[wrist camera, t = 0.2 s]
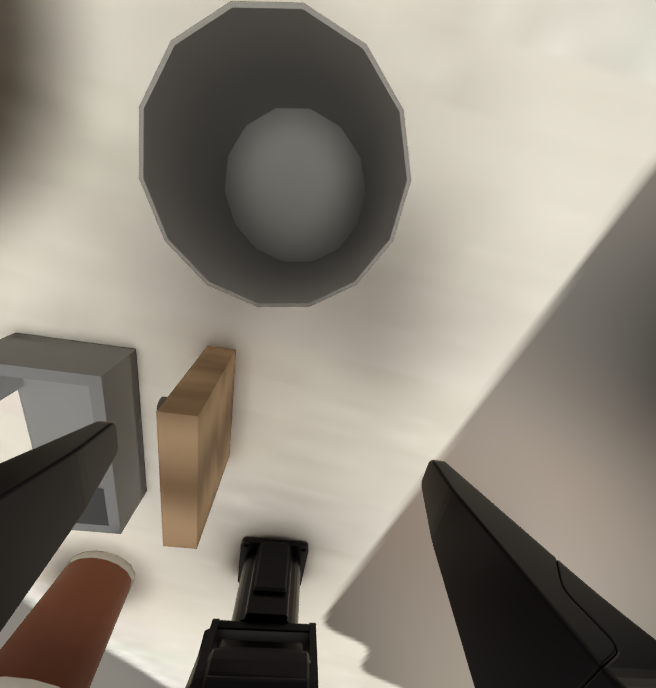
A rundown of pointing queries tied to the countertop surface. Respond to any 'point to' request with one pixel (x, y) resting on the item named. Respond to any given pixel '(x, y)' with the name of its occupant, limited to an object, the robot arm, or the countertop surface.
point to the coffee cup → (68, 625)
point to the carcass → (82, 411)
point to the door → (194, 445)
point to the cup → (273, 153)
